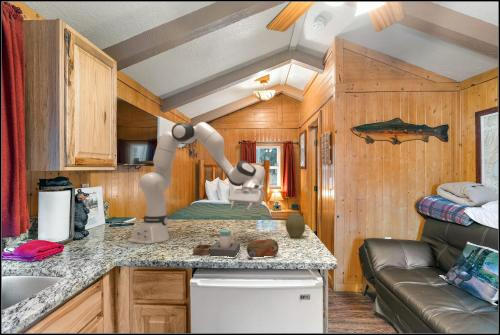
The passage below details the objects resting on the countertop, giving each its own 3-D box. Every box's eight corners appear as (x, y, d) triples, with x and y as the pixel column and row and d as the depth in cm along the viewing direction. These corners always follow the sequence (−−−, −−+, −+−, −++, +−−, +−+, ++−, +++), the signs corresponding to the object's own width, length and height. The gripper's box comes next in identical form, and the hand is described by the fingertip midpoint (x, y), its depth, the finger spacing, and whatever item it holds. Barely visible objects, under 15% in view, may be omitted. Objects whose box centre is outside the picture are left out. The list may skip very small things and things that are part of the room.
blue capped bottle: (220, 255, 120) (220, 231, 120) (222, 252, 124) (222, 229, 124) (228, 255, 119) (228, 232, 119) (230, 253, 123) (230, 230, 123)
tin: (247, 260, 113) (247, 241, 113) (245, 258, 116) (245, 239, 116) (278, 257, 117) (278, 238, 117) (276, 254, 120) (276, 237, 120)
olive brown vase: (287, 239, 146) (287, 213, 146) (284, 235, 157) (284, 210, 157) (307, 239, 146) (307, 213, 147) (302, 234, 158) (302, 210, 158)
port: (209, 257, 116) (209, 248, 116) (216, 249, 128) (216, 241, 128) (235, 259, 115) (235, 250, 115) (240, 250, 126) (240, 242, 126)
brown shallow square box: (193, 255, 120) (193, 248, 120) (198, 250, 127) (198, 244, 127) (208, 255, 119) (208, 249, 119) (213, 250, 126) (213, 244, 126)
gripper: (232, 185, 143) (221, 204, 135) (263, 186, 132) (253, 207, 123) (237, 192, 147) (226, 211, 138) (267, 194, 135) (258, 215, 127)
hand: (239, 209), depth 131 cm, fingers open, 8 cm apart
